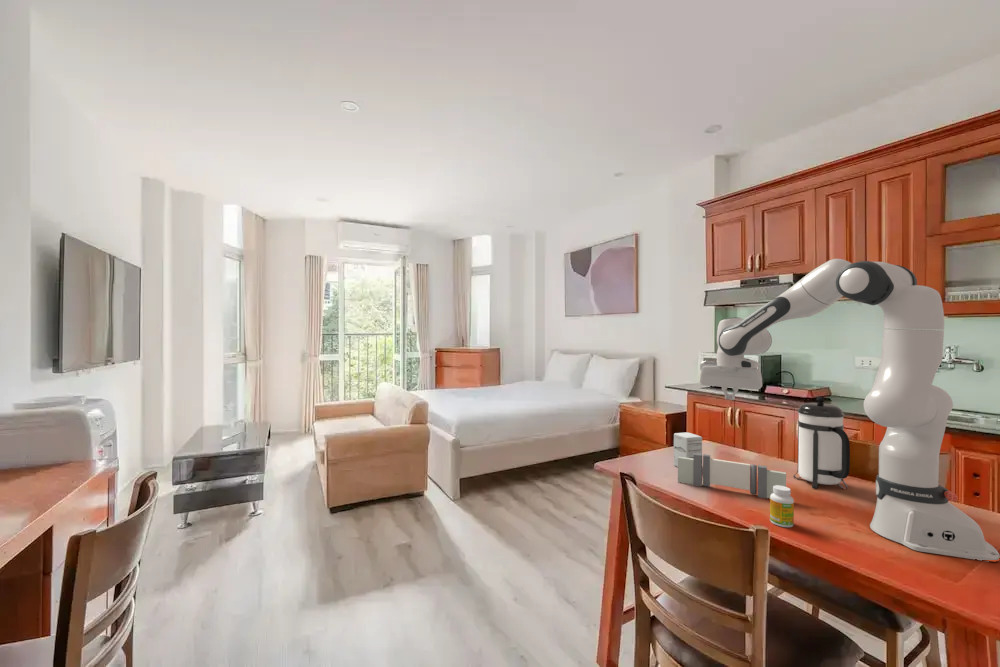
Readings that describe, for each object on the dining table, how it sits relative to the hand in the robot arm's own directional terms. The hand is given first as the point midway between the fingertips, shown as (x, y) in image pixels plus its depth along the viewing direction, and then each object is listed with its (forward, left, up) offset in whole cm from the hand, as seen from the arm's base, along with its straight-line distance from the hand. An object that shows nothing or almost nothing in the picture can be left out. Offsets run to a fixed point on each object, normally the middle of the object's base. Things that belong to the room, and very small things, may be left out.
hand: (729, 399), depth 156 cm
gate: (-1, +20, -27) cm, 33 cm away
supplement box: (+14, +2, -27) cm, 31 cm away
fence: (-1, +20, -27) cm, 34 cm away
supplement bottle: (-15, +39, -27) cm, 50 cm away
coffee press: (-28, -3, -27) cm, 39 cm away
